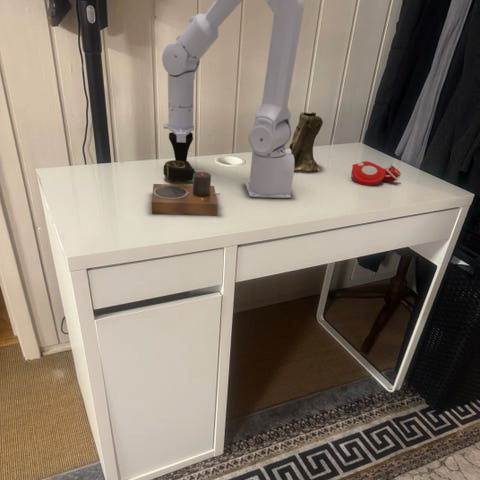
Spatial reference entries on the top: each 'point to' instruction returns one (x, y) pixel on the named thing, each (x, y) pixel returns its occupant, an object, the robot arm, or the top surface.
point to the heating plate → (170, 192)
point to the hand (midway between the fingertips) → (180, 164)
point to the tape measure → (178, 171)
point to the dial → (201, 184)
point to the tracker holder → (373, 173)
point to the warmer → (185, 202)
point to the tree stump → (305, 141)
